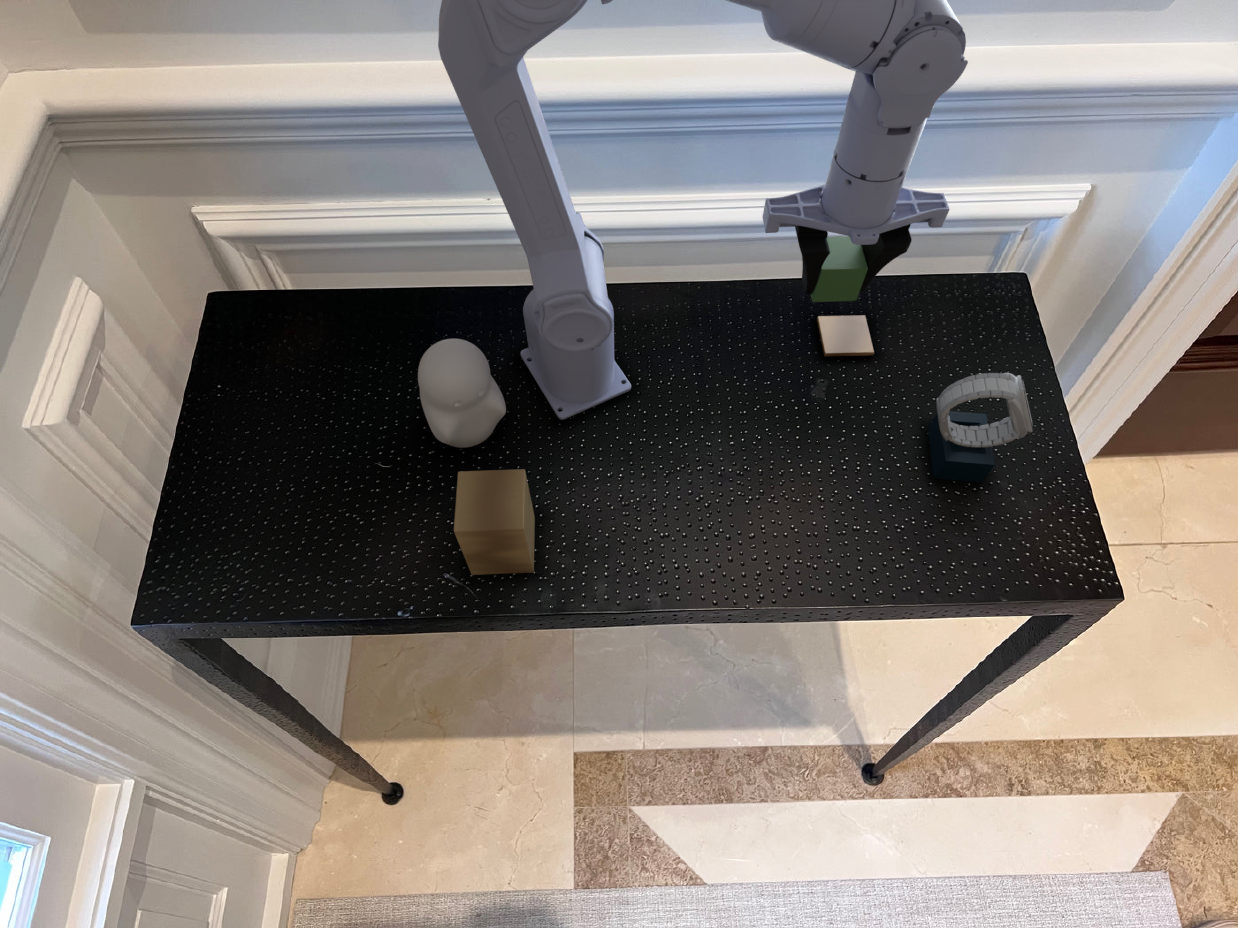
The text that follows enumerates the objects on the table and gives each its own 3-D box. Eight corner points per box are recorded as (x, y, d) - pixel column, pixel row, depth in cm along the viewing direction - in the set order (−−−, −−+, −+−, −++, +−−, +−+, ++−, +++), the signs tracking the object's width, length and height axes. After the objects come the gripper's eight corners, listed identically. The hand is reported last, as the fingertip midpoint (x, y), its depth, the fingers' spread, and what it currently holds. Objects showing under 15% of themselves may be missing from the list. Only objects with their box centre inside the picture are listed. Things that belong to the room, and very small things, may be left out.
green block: (812, 302, 71) (821, 270, 67) (804, 270, 73) (813, 237, 69) (856, 301, 71) (868, 268, 67) (848, 268, 73) (859, 235, 69)
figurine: (451, 470, 73) (424, 394, 63) (417, 413, 77) (385, 332, 66) (518, 436, 75) (502, 357, 65) (482, 382, 79) (461, 298, 68)
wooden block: (471, 575, 68) (453, 531, 61) (474, 519, 71) (457, 471, 64) (534, 572, 68) (523, 528, 61) (534, 517, 71) (525, 468, 64)
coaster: (824, 356, 80) (825, 353, 80) (816, 319, 83) (817, 316, 82) (873, 355, 80) (874, 352, 80) (863, 318, 83) (865, 315, 83)
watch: (1003, 484, 73) (1060, 416, 63) (914, 476, 73) (957, 407, 64) (994, 433, 75) (1047, 361, 66) (908, 426, 76) (949, 353, 66)
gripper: (784, 196, 57) (757, 321, 69) (981, 189, 58) (922, 315, 69) (770, 134, 61) (747, 263, 73) (956, 128, 61) (904, 258, 73)
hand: (831, 285), depth 71 cm, fingers closed on green block, 4 cm apart
